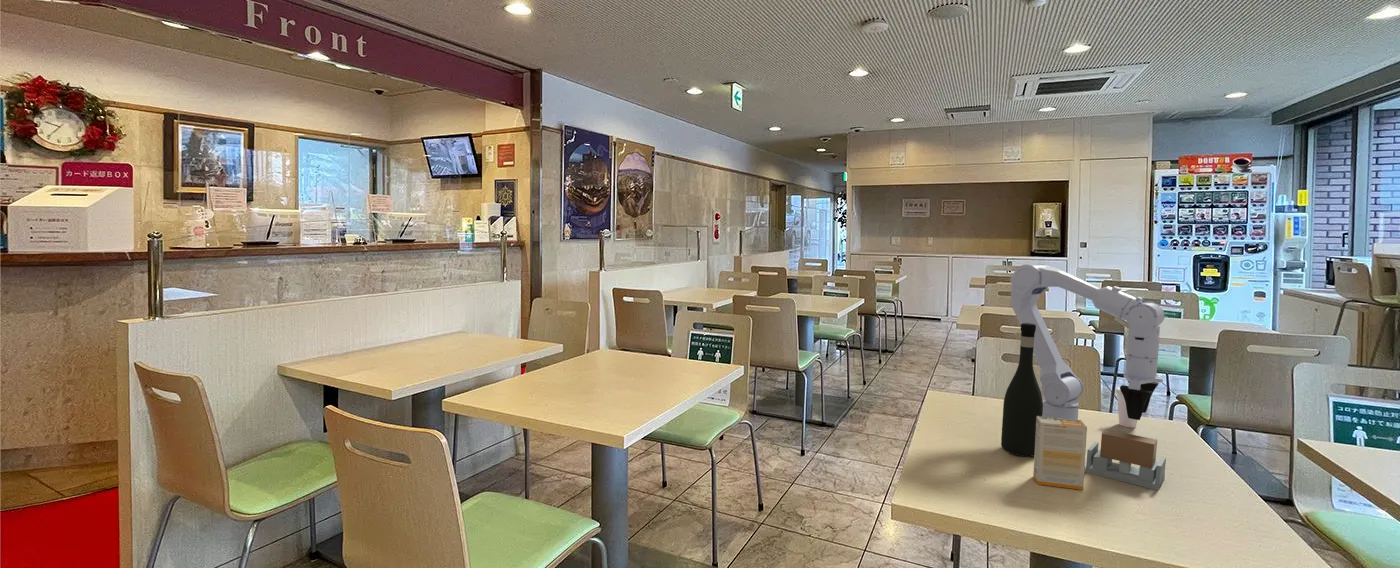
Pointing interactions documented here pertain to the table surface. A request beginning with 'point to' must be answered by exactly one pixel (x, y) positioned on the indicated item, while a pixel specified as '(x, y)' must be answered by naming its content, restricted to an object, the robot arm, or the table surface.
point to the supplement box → (1060, 452)
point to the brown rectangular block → (1128, 448)
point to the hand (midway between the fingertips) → (1137, 415)
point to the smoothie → (1124, 411)
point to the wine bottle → (1022, 401)
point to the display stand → (1125, 470)
